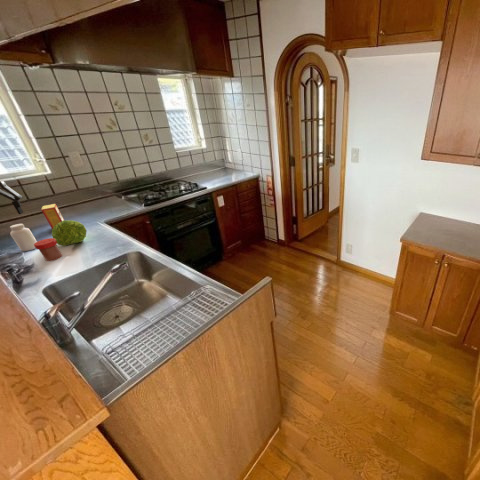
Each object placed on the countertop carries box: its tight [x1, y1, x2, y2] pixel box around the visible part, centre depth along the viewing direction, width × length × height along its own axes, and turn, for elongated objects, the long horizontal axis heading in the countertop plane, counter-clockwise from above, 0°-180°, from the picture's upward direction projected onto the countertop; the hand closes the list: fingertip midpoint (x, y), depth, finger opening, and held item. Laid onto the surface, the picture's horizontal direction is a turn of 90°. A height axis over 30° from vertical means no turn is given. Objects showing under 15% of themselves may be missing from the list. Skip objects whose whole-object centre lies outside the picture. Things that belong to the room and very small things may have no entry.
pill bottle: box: [9, 223, 38, 252], centre depth 153 cm, size 8×8×15 cm
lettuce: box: [51, 219, 88, 247], centre depth 160 cm, size 15×25×16 cm
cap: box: [34, 237, 58, 250], centre depth 138 cm, size 8×8×2 cm
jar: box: [38, 244, 64, 262], centre depth 140 cm, size 7×7×11 cm
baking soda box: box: [40, 203, 65, 230], centre depth 179 cm, size 10×6×16 cm
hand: (3, 215), depth 131 cm, fingers open, 13 cm apart
